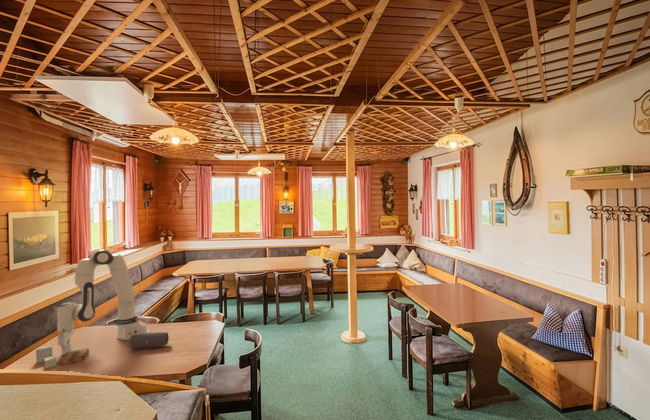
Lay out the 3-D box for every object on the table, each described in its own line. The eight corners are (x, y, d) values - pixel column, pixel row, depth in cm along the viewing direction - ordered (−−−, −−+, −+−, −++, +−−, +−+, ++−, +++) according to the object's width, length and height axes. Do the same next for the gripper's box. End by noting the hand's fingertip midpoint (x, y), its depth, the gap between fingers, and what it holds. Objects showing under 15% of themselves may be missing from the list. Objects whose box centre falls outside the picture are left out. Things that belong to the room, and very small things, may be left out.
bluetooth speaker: (129, 352, 223) (128, 337, 223) (134, 346, 232) (134, 332, 232) (164, 349, 226) (164, 334, 226) (169, 343, 236) (168, 329, 235)
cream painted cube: (72, 350, 229) (72, 343, 228) (70, 353, 224) (70, 346, 224) (63, 352, 226) (63, 344, 226) (61, 355, 222) (61, 347, 222)
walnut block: (89, 354, 223) (88, 348, 223) (84, 361, 212) (84, 355, 212) (67, 357, 218) (66, 351, 218) (61, 365, 207) (61, 359, 207)
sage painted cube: (55, 363, 210) (54, 355, 210) (56, 365, 206) (55, 358, 206) (44, 366, 206) (44, 358, 206) (45, 368, 203) (45, 360, 203)
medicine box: (52, 357, 218) (52, 344, 218) (52, 360, 215) (52, 346, 214) (36, 361, 213) (36, 348, 213) (36, 364, 210) (35, 350, 209)
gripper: (66, 331, 217) (66, 352, 217) (75, 321, 236) (75, 340, 236) (54, 332, 214) (54, 353, 214) (64, 322, 233) (64, 342, 233)
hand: (65, 347), depth 225 cm, fingers open, 8 cm apart
